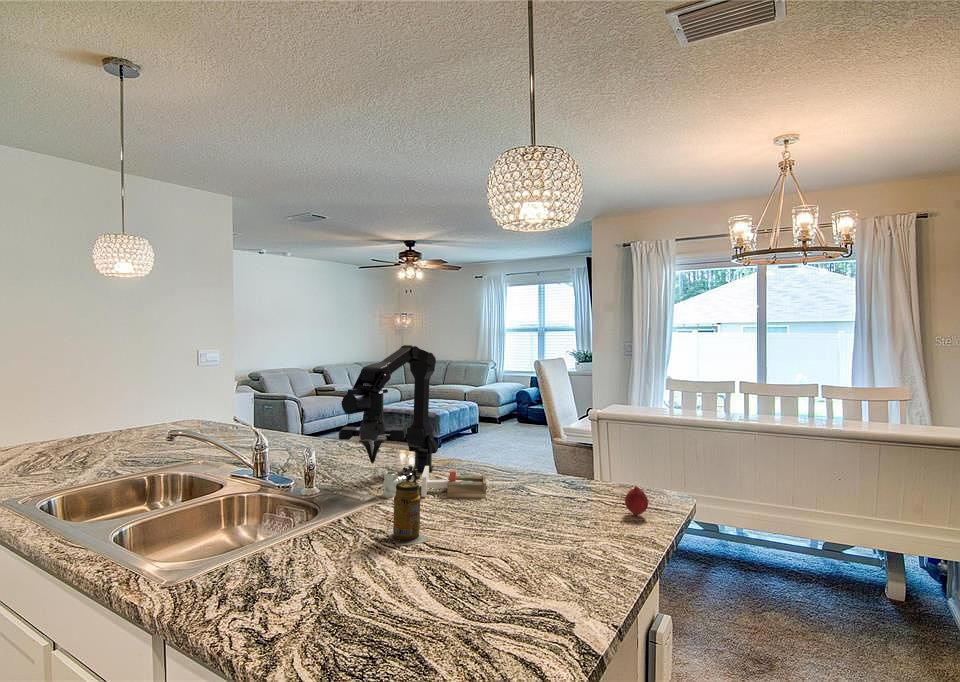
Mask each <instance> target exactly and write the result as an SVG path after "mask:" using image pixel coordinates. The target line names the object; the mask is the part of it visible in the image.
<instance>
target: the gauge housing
mask: <svg viewBox="0 0 960 682" xmlns="http://www.w3.org/2000/svg"><path fill="white" fill-rule="evenodd" d="M481 474H482V475H473V474H460V475H459V474H458V475H457V474H456V480H463V481H461V482H459V481H448V488H446V489H447V490H446V491H447V496H446V497H447V498H476V499H477V498H483V499H484V498H485V499H486V498H487V480H486V479H487V478H486V474H485V473H481ZM447 480H450V474H449V475H448V479H447Z"/></svg>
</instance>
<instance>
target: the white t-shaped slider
mask: <svg viewBox="0 0 960 682" xmlns="http://www.w3.org/2000/svg"><path fill="white" fill-rule="evenodd" d="M449 475H450V480H448V479H430V478H429V477H430V472H429V466H425V468H424V471H423V472H422V475H421V489H420V491H421V495H420V498H426V497H427V493H428V489H447V488H448V481H459V482H461V481H463V480H456V475H457V469H456V470H455V469H450V470H449Z"/></svg>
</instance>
